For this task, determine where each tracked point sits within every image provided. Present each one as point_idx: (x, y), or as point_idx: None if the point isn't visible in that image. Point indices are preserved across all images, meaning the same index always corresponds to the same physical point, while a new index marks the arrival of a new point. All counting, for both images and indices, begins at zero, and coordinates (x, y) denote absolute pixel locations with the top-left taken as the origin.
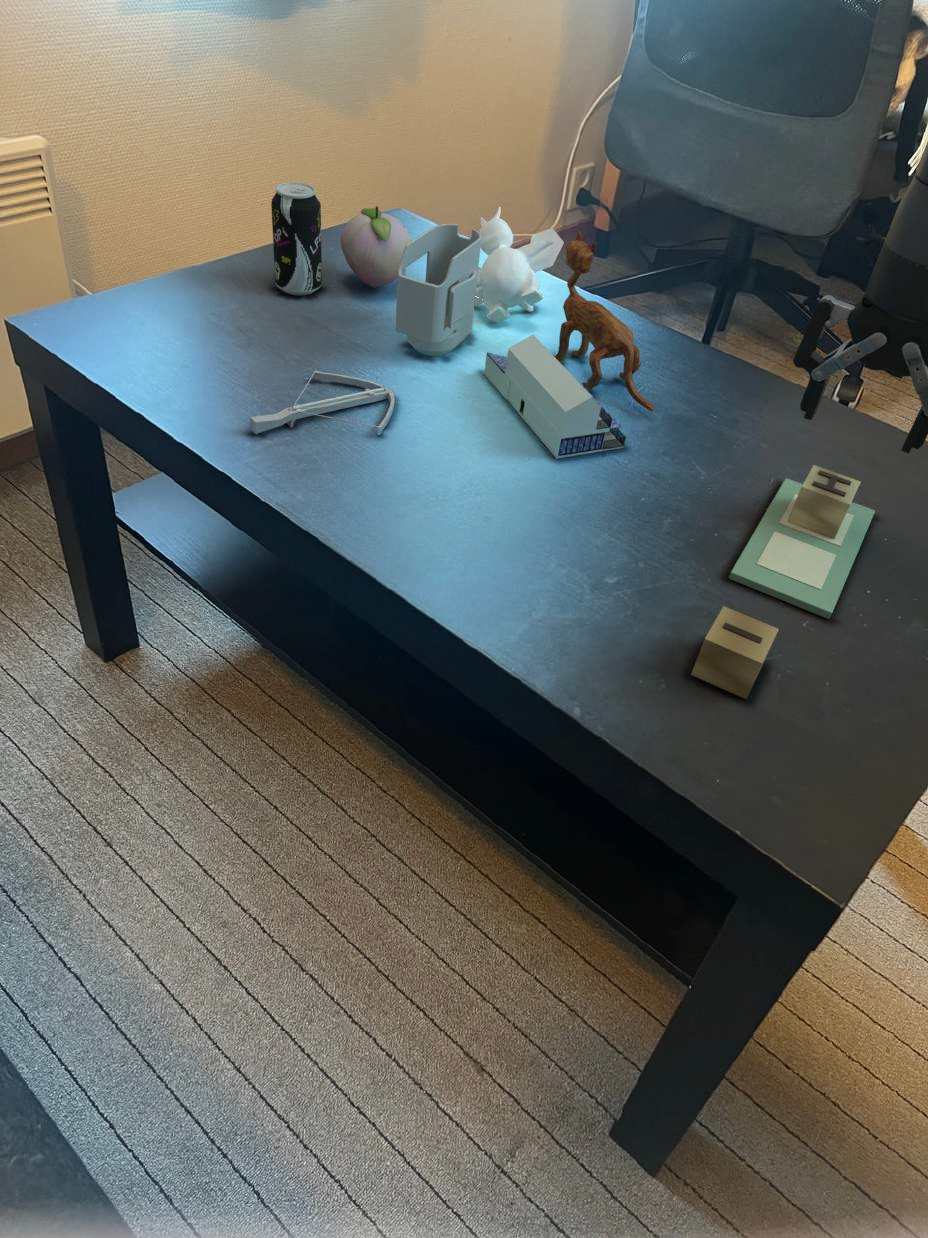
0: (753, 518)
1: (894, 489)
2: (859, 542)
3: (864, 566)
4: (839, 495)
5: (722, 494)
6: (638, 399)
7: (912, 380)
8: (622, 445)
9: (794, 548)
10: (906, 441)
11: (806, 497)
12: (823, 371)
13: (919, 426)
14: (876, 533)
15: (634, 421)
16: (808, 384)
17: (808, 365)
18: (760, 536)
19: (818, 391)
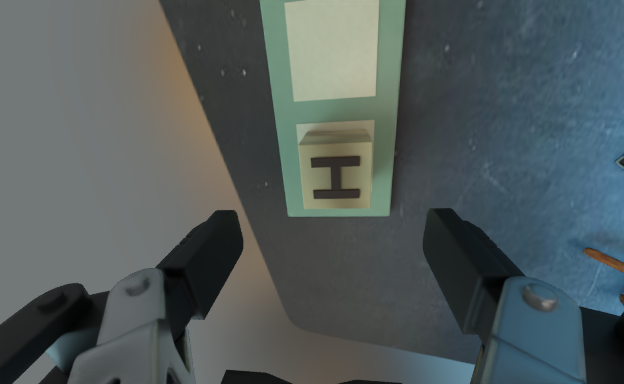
0: (405, 123)
1: (287, 265)
2: (281, 148)
3: (265, 120)
4: (317, 157)
5: (453, 147)
6: (614, 258)
7: (154, 369)
8: (622, 160)
9: (342, 74)
10: (221, 220)
11: (358, 138)
12: (537, 313)
13: (186, 246)
14: (276, 188)
15: (596, 227)
16: (518, 269)
17: (602, 327)
18: (389, 71)
19: (477, 253)
